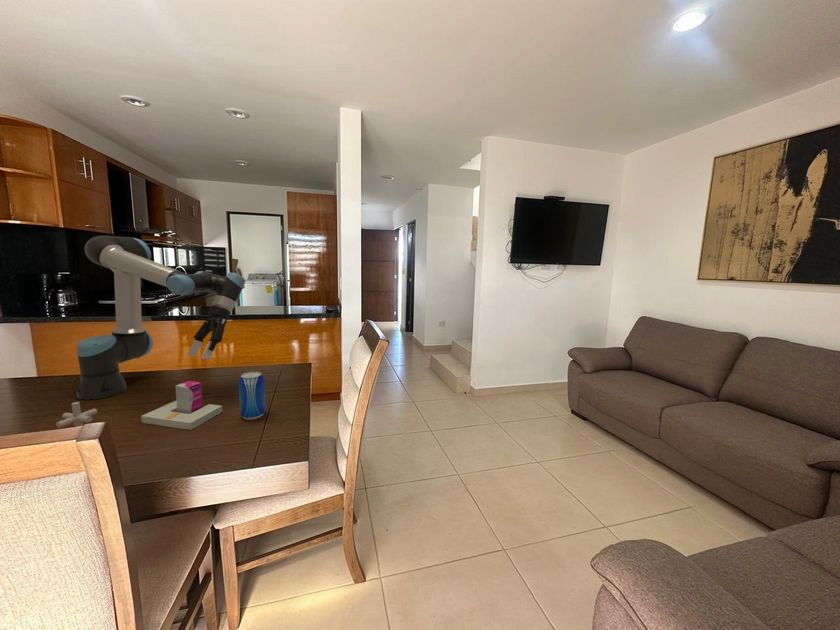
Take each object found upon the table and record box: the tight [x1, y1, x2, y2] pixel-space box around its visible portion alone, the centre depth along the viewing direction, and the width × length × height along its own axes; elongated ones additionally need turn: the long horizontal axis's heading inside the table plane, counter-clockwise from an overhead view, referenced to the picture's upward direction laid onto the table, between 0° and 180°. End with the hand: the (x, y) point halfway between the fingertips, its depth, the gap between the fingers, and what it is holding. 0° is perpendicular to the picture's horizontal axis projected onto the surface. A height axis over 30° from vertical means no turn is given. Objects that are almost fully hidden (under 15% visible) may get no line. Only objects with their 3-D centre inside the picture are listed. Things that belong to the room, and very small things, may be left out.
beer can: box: [238, 371, 266, 421], centre depth 123 cm, size 8×8×16 cm
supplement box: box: [175, 380, 203, 414], centre depth 123 cm, size 6×6×12 cm
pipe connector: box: [55, 401, 98, 429], centre depth 108 cm, size 10×10×10 cm
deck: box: [140, 400, 223, 431], centre depth 121 cm, size 14×20×3 cm
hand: (198, 357), depth 131 cm, fingers open, 13 cm apart
